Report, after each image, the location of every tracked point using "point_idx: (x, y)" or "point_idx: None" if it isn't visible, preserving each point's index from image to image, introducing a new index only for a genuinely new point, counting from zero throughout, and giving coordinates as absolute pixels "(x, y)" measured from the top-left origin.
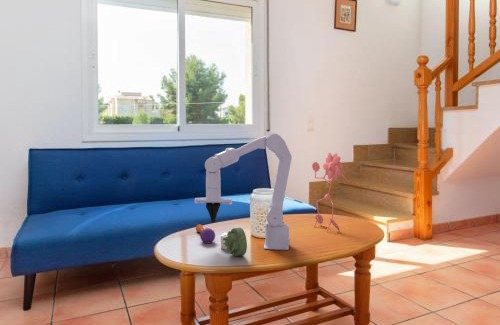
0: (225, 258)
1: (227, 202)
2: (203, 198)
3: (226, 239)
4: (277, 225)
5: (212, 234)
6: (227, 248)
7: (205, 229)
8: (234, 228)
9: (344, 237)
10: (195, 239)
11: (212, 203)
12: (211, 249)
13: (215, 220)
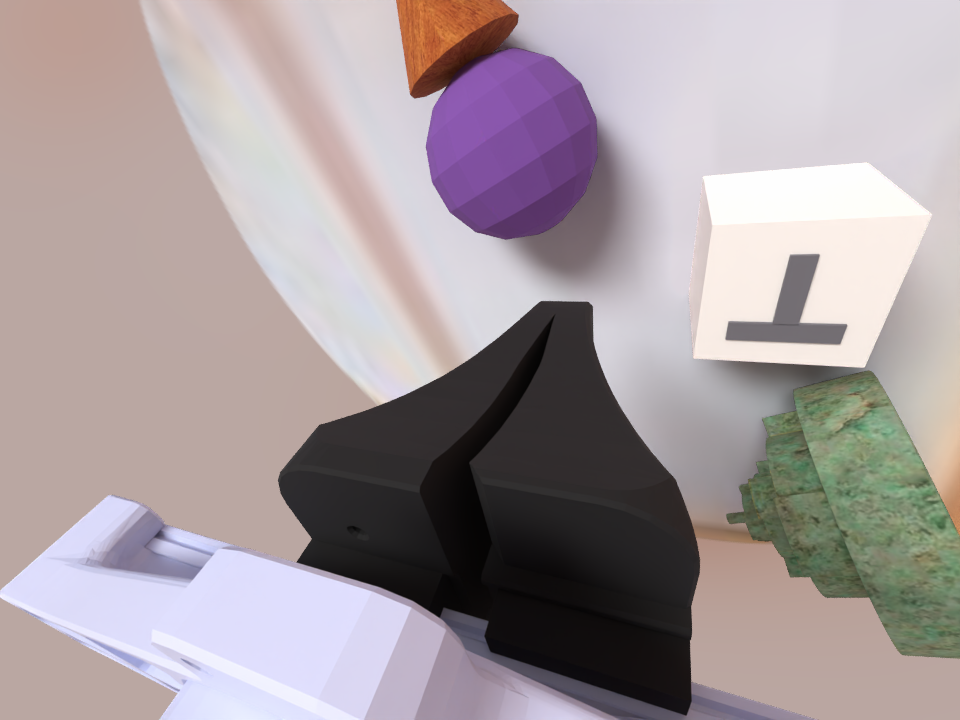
0: (734, 455)
1: None
2: (172, 686)
3: (760, 539)
4: None
5: (571, 203)
6: (758, 468)
7: (469, 199)
8: (887, 629)
9: None
10: (382, 65)
11: (458, 633)
12: (609, 314)
13: (591, 328)
